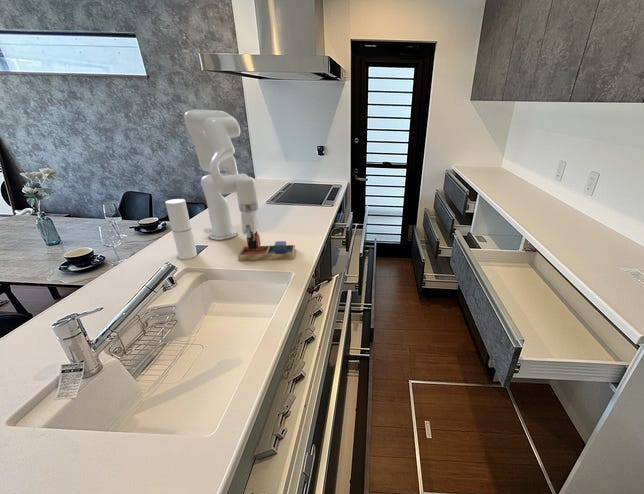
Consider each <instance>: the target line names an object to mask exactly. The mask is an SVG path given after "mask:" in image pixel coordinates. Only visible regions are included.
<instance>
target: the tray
mask: <svg viewBox="0 0 644 494" xmlns="http://www.w3.org/2000/svg"><path fill="white" fill-rule="evenodd" d="M286 248H287V252H286V254H275V247H274V245H260V247H259V248H256V249H248V245H246V246H245V245H244V246H243V247H242V248H241V250H240V252H239V253H238V255H237V259H238V261H239V262H243V261H244V262H247V261H275V260H277V261H278V260H294V257H295V254H296V253H295V252H296V245H295V244H286Z"/></svg>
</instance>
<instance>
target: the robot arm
mask: <svg viewBox="0 0 644 494" xmlns="http://www.w3.org/2000/svg"><path fill="white" fill-rule="evenodd" d="M183 117H184V124H185V127H186V130H187V132H188V134H189V135H190V137H191V139H192V141H193V144H194V149H195V152H196V156H197V159H198V162H199V167H200V169H201V170H202V171H204V172H209V173H210V174H205V175H204V176H202V177H201V179H200V186H201V189H202V192H203V194H204V197H205V201H206V206H207V210H208V215H209V221H210V227H204V228H203V232H204V233H205V234H209V238H210V239H211V240H216V241H222V240H223V241H224V240H228V239H232V238H234V237H236V236H237V231H236V230H235V229H233V223H232V218H231V212H230V205H229V202H228V200H227V198H226V197H224V196H223V195H230V194H235V193H236V196H237V204H238V210H239V212H240V220H241V229H242V230H241V231H242V235H244V236H245V235H246V238H247V239H248V245H247V246H249V249H256V248H257V246H256V240H255V236H254V234H259V232H258V229H259V227H260V225H259V224H260V223H259V217H258V211H259V203H258V196H257V188H256V187H257V186H256V181H255V178H253V177H252V176H249V175H247V174H246V173H239V171H238V166H237V161H236V158H235V156H234V154H235V152H236V150H235V147H234V144H233V142H232V139H231V138H238V137H239V136H240V135H241V127H240V124H239V122H238V121H237V119H236V118H235V117H234V116H232V115H231V114H230V113H228V112H226V111H224V110H216V109H190V110H187V111H186V112H185V113H184V116H183ZM220 171H221V172H222V171H225V172H222V173H221V172H220ZM251 235H253V237H252V236H251ZM247 239H246V240H247Z"/></svg>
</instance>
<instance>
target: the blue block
mask: <svg viewBox="0 0 644 494" xmlns="http://www.w3.org/2000/svg"><path fill="white" fill-rule="evenodd" d="M286 245H287V241H286V240H281V241H280V240H278V241H277V240H276V241H275V243H274V245H273V246H274V247H275V254H286V252H287V248H286Z"/></svg>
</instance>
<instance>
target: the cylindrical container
mask: <svg viewBox="0 0 644 494" xmlns="http://www.w3.org/2000/svg"><path fill="white" fill-rule="evenodd" d="M164 203H165V208H166V211H167V215H168V219H169V220H168V221H169V223H170V227H171V231H172V235H173V239H174V242H175V243H174V244H175V247H176V252H177V256H178V259H179V260H189V259H192V258H193V259H194V258H195V257H196V256H197V255H198V252H197V247H196V243H195V239H194V234H193V229H192V224H191V220H190V216H189V211H188V207H187V206H188V205H187V202H186V199H184V198H173V199H168V200H165V202H164Z"/></svg>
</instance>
